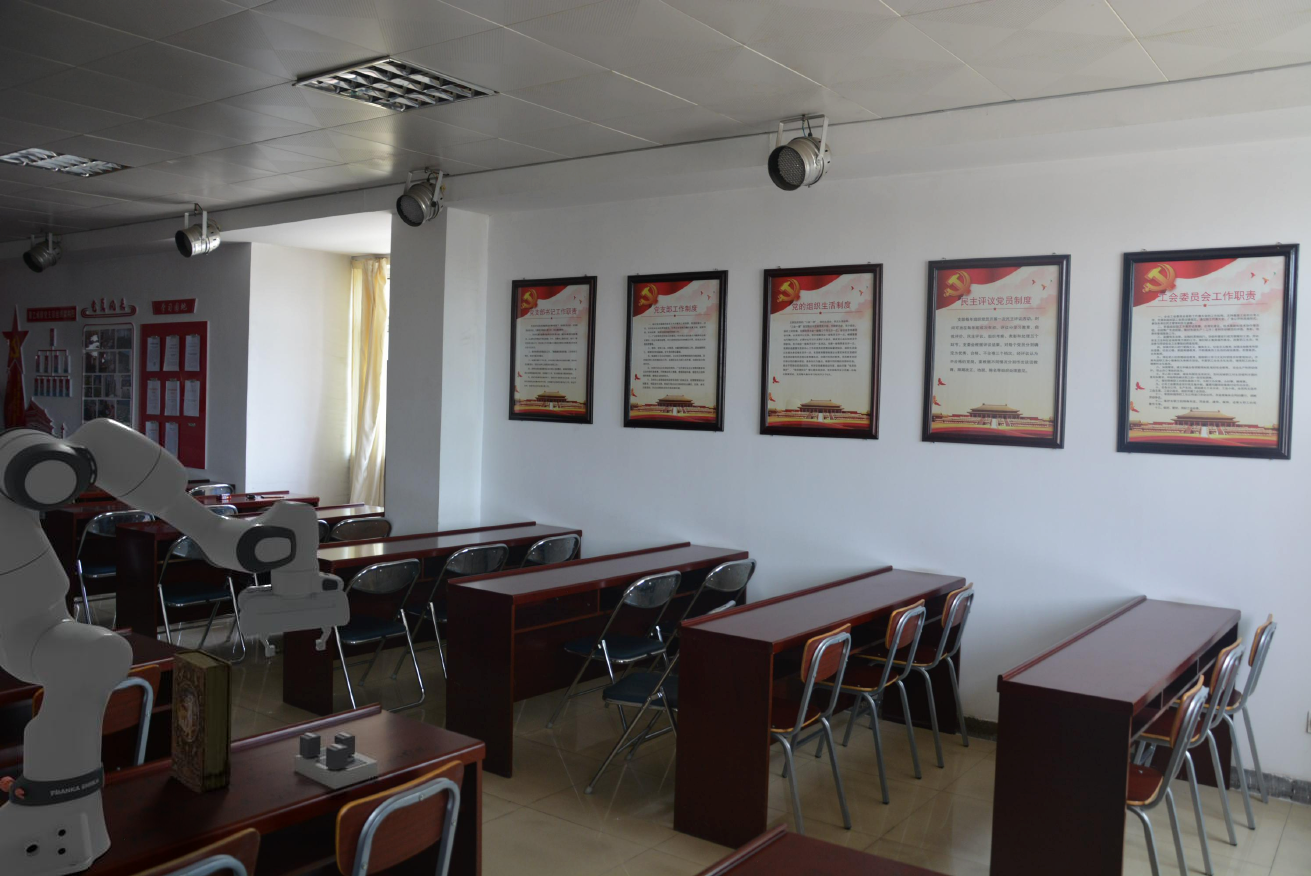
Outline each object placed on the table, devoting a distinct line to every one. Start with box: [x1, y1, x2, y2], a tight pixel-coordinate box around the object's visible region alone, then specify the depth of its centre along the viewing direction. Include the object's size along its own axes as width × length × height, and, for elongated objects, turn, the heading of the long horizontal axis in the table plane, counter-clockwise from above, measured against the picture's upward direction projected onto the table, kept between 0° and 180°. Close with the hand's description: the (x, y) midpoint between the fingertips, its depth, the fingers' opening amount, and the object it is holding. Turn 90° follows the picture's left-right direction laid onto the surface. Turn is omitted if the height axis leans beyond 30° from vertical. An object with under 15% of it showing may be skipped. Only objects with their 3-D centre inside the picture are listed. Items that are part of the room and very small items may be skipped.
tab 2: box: [325, 743, 348, 770], centre depth 193 cm, size 3×3×4 cm
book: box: [170, 649, 233, 795], centre depth 192 cm, size 16×6×25 cm, turn 48°
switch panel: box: [293, 747, 379, 790], centre depth 198 cm, size 10×15×3 cm, turn 51°
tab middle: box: [333, 732, 356, 756], centre depth 200 cm, size 3×3×4 cm
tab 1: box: [298, 732, 322, 758], centre depth 199 cm, size 3×3×4 cm
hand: (295, 652), depth 186 cm, fingers open, 8 cm apart
